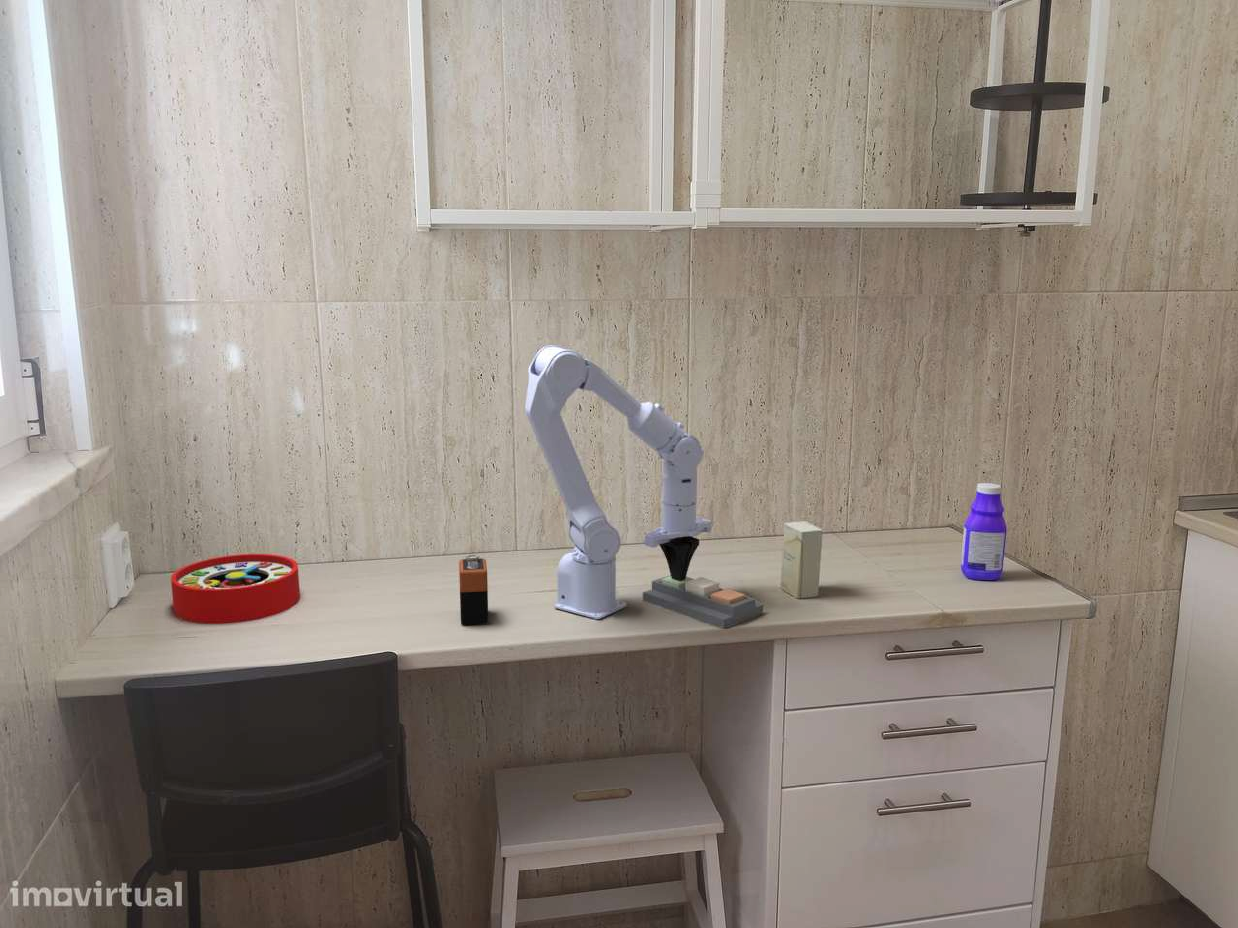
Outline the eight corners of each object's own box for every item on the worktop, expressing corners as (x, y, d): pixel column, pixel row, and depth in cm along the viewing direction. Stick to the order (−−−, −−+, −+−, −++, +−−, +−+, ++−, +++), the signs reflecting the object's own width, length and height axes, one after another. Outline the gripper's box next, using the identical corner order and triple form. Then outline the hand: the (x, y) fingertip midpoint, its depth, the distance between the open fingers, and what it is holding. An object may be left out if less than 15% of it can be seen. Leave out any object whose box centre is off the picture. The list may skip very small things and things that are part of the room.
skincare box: (779, 588, 175) (782, 522, 172) (801, 585, 176) (804, 520, 174) (798, 599, 169) (801, 531, 167) (820, 596, 171) (823, 529, 168)
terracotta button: (710, 603, 161) (710, 594, 161) (726, 597, 164) (726, 588, 164) (729, 609, 158) (729, 600, 158) (744, 603, 161) (745, 594, 161)
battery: (487, 610, 164) (485, 552, 162) (488, 624, 157) (487, 564, 155) (460, 611, 163) (458, 553, 161) (461, 626, 156) (459, 566, 154)
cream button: (685, 591, 165) (685, 582, 165) (701, 586, 168) (701, 577, 167) (703, 597, 162) (703, 587, 162) (719, 591, 165) (719, 582, 165)
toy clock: (143, 583, 159) (224, 549, 178) (146, 618, 160) (226, 580, 179) (249, 595, 154) (321, 559, 173) (252, 630, 155) (323, 590, 174)
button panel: (642, 600, 168) (643, 583, 168) (682, 587, 175) (682, 571, 175) (723, 628, 156) (724, 610, 155) (763, 613, 162) (763, 595, 162)
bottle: (997, 572, 184) (1004, 481, 181) (1005, 582, 179) (1013, 488, 175) (957, 571, 185) (964, 480, 181) (964, 581, 179) (971, 487, 176)
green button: (661, 587, 169) (661, 578, 169) (677, 582, 172) (677, 573, 171) (678, 593, 166) (678, 584, 166) (694, 588, 169) (694, 579, 169)
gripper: (667, 513, 158) (666, 594, 161) (725, 499, 168) (723, 575, 171) (636, 506, 163) (635, 584, 166) (694, 492, 173) (693, 566, 176)
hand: (678, 579), depth 169 cm, fingers closed, pressing on green button
